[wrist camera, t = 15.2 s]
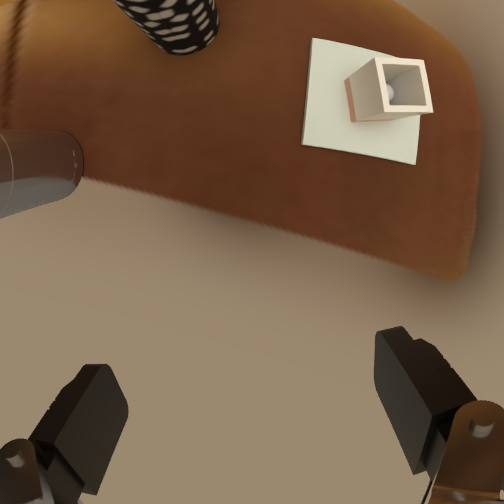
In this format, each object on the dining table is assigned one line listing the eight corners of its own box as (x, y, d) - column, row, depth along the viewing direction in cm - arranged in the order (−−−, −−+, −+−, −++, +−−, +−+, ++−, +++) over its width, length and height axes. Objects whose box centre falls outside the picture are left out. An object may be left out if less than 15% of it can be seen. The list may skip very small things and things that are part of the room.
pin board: (301, 144, 35) (312, 142, 28) (310, 41, 32) (322, 18, 25) (409, 164, 36) (440, 167, 29) (416, 67, 32) (446, 54, 25)
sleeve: (350, 122, 33) (384, 112, 24) (344, 80, 32) (374, 57, 22) (390, 120, 33) (433, 112, 23) (383, 80, 32) (423, 60, 22)
